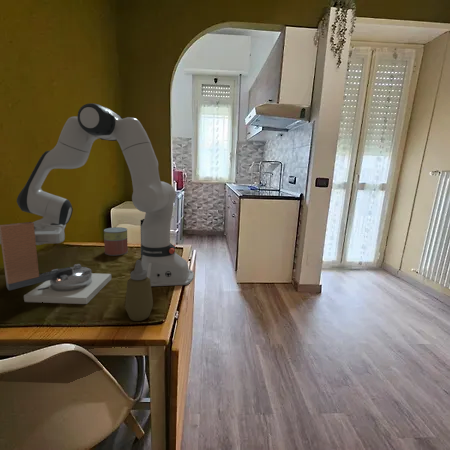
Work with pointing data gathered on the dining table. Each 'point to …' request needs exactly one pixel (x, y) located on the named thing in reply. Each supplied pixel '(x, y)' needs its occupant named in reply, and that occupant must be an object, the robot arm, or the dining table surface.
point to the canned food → (115, 241)
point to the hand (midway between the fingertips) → (18, 242)
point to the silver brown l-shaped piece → (34, 262)
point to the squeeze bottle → (139, 294)
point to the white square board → (68, 292)
